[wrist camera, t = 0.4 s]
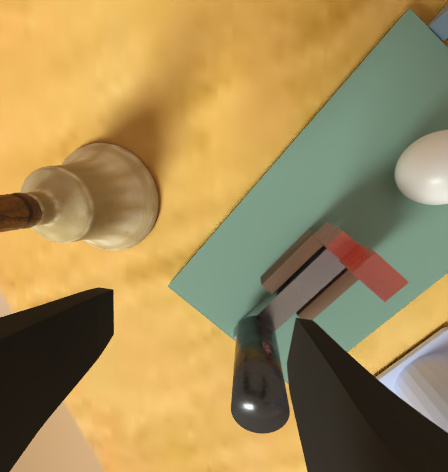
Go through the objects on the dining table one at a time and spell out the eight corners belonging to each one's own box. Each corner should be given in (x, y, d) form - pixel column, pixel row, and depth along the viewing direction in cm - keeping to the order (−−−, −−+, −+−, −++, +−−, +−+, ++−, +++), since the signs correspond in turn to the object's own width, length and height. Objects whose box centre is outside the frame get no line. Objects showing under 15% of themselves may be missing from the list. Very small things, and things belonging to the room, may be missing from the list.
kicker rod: (368, 258, 16) (456, 317, 9) (263, 351, 19) (272, 452, 12) (321, 217, 16) (378, 246, 9) (221, 317, 19) (205, 401, 12)
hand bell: (75, 122, 17) (-1220, -279, 2) (175, 174, 18) (-331, 161, 2) (47, 221, 20) (-686, 382, 4) (137, 266, 20) (-257, 581, 4)
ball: (463, 166, 15) (539, 161, 11) (410, 214, 16) (463, 225, 12) (419, 122, 14) (481, 101, 11) (367, 173, 15) (407, 172, 12)
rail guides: (353, 268, 17) (362, 275, 16) (303, 313, 18) (307, 324, 17) (308, 228, 17) (314, 232, 15) (260, 277, 18) (261, 285, 16)
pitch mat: (550, 175, 15) (571, 175, 14) (295, 381, 21) (297, 391, 20) (398, 19, 14) (409, 7, 13) (171, 281, 20) (167, 286, 19)
